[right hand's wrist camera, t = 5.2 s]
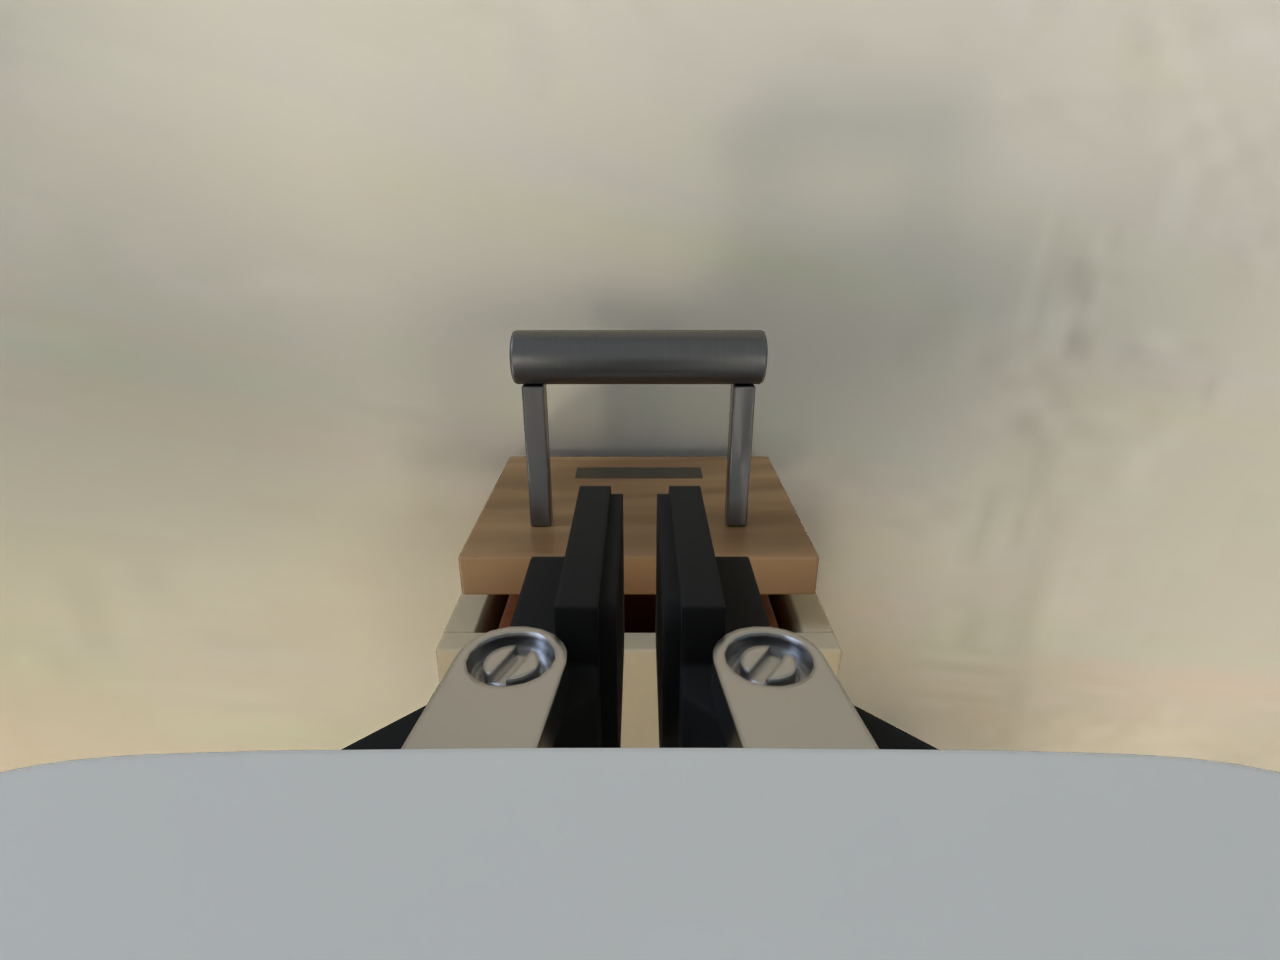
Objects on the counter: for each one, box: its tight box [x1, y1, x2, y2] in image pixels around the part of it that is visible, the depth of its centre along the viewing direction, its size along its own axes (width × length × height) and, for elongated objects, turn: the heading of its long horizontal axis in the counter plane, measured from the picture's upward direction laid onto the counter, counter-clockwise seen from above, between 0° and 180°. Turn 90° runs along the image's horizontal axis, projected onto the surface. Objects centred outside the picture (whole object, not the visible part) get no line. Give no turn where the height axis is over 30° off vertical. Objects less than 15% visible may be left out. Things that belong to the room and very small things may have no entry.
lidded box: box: [436, 593, 841, 748], centre depth 25 cm, size 13×11×10 cm
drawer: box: [458, 330, 819, 633], centre depth 23 cm, size 17×10×8 cm, turn 0°
